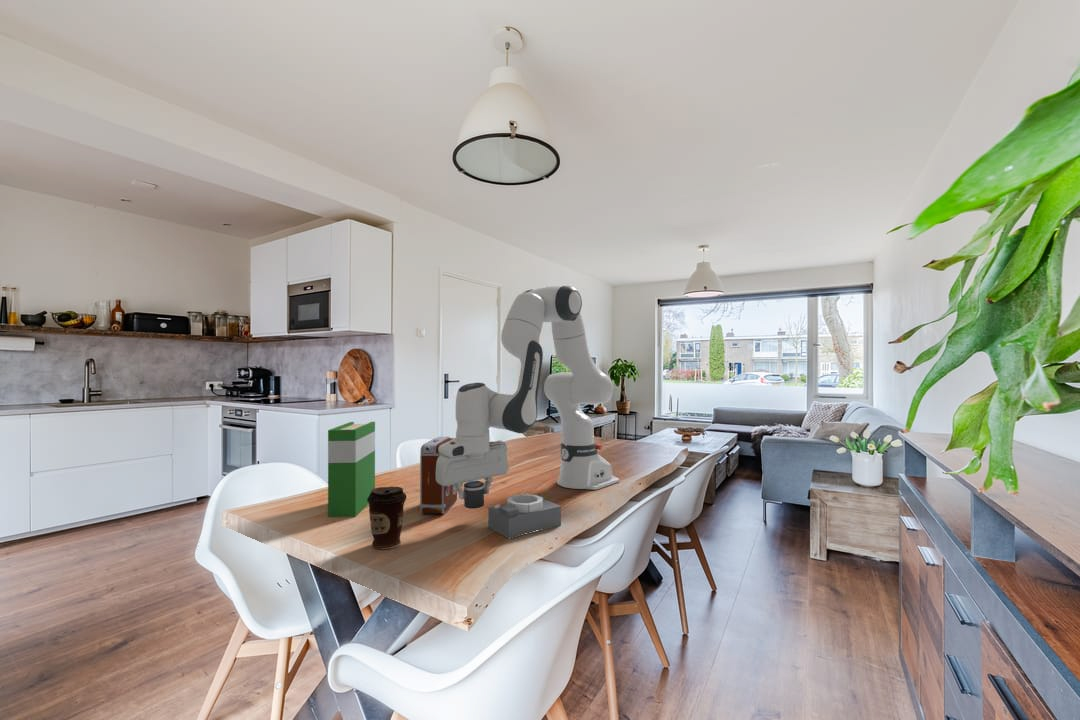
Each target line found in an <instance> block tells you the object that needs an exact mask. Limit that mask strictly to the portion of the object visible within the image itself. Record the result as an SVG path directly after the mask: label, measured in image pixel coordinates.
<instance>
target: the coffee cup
mask: <svg viewBox="0 0 1080 720" xmlns="http://www.w3.org/2000/svg"><path fill="white" fill-rule="evenodd" d="M367 501H368V502H369V504H368V507H369V508H368V513H369V521H370V533H371V535H372V537H373V539H372V543H371V546H372V547H373V548H374V549H378V550H388V549H394V548H398V547H399V546H400V545H401V544H402V541H401V533H402V528H403V520H404V505H405V502H406V501H407V494H406V493H405V492H404V488H402V487H401V486H380V487H379V486H378V487H375V489H372V490H371V493H370V495H369V497H368V498H367Z"/></svg>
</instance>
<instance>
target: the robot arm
mask: <svg viewBox="0 0 1080 720" xmlns="http://www.w3.org/2000/svg"><path fill="white" fill-rule="evenodd" d="M582 305H583V301H582V297H581V293H580V292H579V291H578V290H577V289H576V288H575V287H573V286H569V285H562V286H559V285H558V286H556V285H555V286H554V285H553V286H552V285H551V286H545V287H541V288H536V289H533V288H532V289H529V290H526V291H525V290H524V291H523V292H522V293H520V294H518V295H517V296H516V298H515V300H514V301H513V302H512V305H511V306H510V309H509V311H508V313H507V316H506V318H505V321H504V324H503V326H502V330H501V334H500V335H501V336H500V341H501V344H502V345H503V347H504V349H505V350H506V351H507V352H508V353H509V354H511V356H512V355H513V357H515V358H517V359H519V361H520V369H519V370H520V372H519V376H518V377H519V378H518V383H517V388H516V391H515V392H514V393H513V394H508V393H505V394H504V393H499V392H497V391H495V390H492V389H491V388H489V387H488V386H487V385H486V384H485V383H483V382H473V383H467V384H463V385H462V386H460V387H459V388H458V389H457V392H456V397H455V421H456V424H457V425H456V426H457V427H456V431H455V437H453V438H454V439H452V440H450V441H448V442H446V443H444V444H442V445H440V446H439V448H438V451H439V453H440V454H442V455H440V456H439V457H438V459H437V463H436V482H437V483H438V484H440V485H441V486H449V485H454V484H455V487H456V489H457V493H458V499H460V500H461V501H462V500H464V499H466V498H467V496H466V495H467V492H465V491H464V489H462V488H464V484H465V483H467V482H469V481H479V480H482V479H484V480H485V482H484V496H485V495H489V493H490V486H491V485H492V482H493V477H497V476H498V477H499V476H503V475H506V474H507V473H508V472H509V468H510V467H509V459H508V454H507V453H508V445H507V443H506V442H505V441H503V440H495V441H490V428H494V429H498V430H505V431H506V430H507V431H509V432H513V433H517V434H524V433H526V432H528V431H529V430H531V428H532V427H533V426H534V425H535V424H536V420H537V418H538V398H539V397H538V395H539V389H540V382H541V376H542V369H543V368H542V367H543V359H544V357H543V356H544V353H543V352H544V351H543V348H542V346H541V344H540V336H541V331H542V329H543V324H544V323H551V333H552V340H553V345H554V351H555V357H556V359H557V360H558V362H559V363H561V364H562V365H564V366H565V367H566V368H568V370H569V372H567V371H561V372H556V373H551V374H549V375H548V376H547V377H546V379H545V381H544V383H543V389H544V390H543V391H544V394H545V396H546V398H547V399H548V400H549V401H550V402H552V404H553V405H554V407H555V409H556V410H557V413H558V415H559V418H560V423H561V425H560V426H561V442H560V457H561V463H560V469H559V475H558V479H557V485H559V486H560V487H563V488H566V489H567V488H568V489H572V490H573V489H575V490H593V491H596V490H599V489H602V488H605V487H608V486H612V485H614V484H617V483H619V482H620V479H619V478H618V477H616V476H615V475H613V468H612V465H611V463H610V462H608V461H607V460H606V459H605V458H604V457H602V455H600V454H599V453H598V450H599V451H602V450H603V447H604V445H603V444H601V443H596V444H595V441H594V439H595V438H594V437H595V436H594V435H595V433H594V432H595V430H594V429H595V427H594V426H595V425H594V421H593V419H592V418H591V417H590V416H588V415H587V414H585V412H584V411H583V410H582V408H581V405H593V406H594V405H600V404H606V403H608V402H609V401H610V399H611V398H612V396H613V395H614V384H613V381H612V379H611V378H610V376H609V375H608V374H606V373H604V372H603V371H602V370H601V369H600V368H599V367H598V366H597V364H596V363H595V361H594V360H593V358H592V356H591V354H590V351H589V347H588V342H587V335H586V330H585V324H584V320H583V317H582V313H581V311H582ZM463 483H464V484H463Z"/></svg>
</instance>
